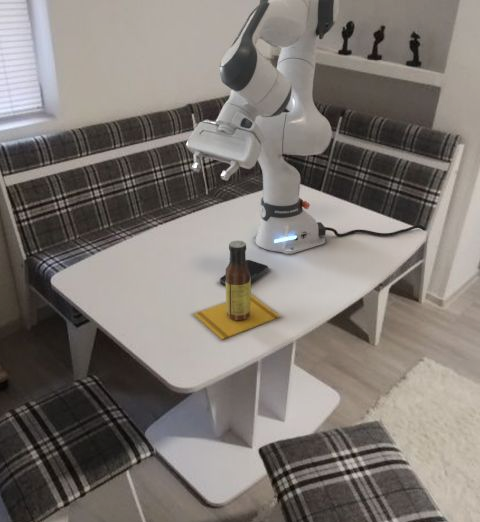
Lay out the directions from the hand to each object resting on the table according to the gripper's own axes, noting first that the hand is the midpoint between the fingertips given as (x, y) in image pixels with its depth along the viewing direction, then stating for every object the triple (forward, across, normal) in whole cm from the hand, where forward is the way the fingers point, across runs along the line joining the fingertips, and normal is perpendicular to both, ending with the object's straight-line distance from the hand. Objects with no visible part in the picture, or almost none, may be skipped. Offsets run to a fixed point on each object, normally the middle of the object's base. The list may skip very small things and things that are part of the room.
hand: (209, 174), depth 131 cm
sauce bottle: (+28, +18, +14) cm, 36 cm away
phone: (+16, +7, +26) cm, 32 cm away
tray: (+28, +18, +14) cm, 36 cm away
